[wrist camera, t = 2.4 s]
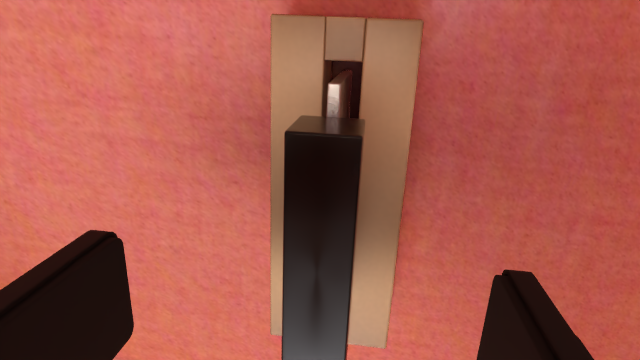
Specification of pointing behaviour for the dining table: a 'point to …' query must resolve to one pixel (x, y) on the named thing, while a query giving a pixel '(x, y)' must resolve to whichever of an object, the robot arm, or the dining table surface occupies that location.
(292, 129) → the knife
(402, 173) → the knife block
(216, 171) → the dining table surface
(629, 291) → the dining table surface
